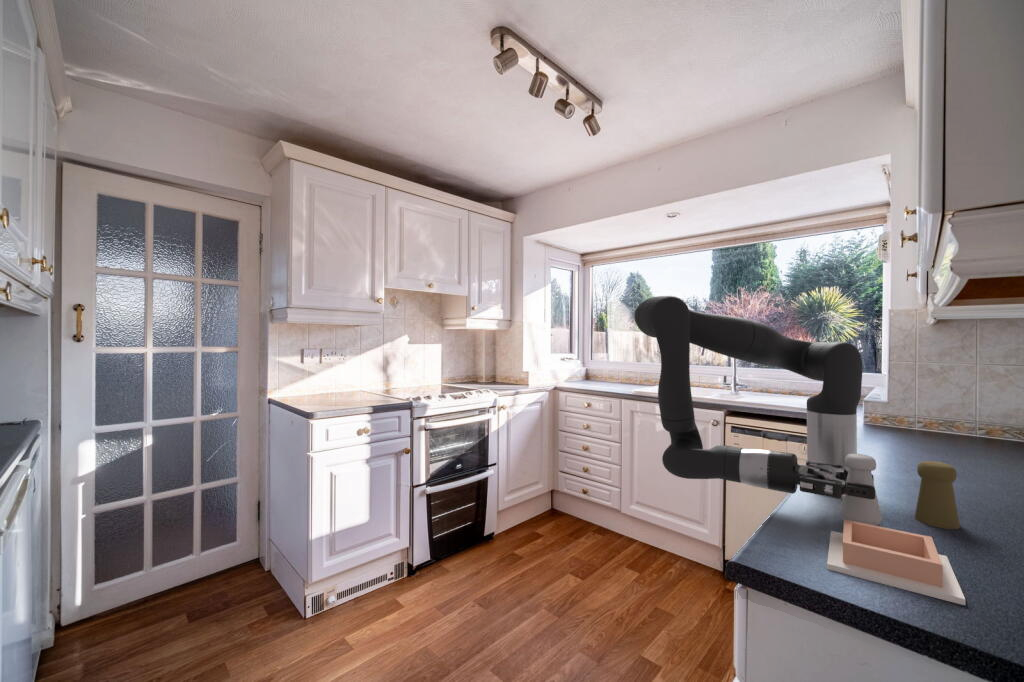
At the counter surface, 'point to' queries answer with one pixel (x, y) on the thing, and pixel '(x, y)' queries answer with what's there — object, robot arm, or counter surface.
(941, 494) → the pepper shaker
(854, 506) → the salt shaker
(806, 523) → the counter surface
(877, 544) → the tray
